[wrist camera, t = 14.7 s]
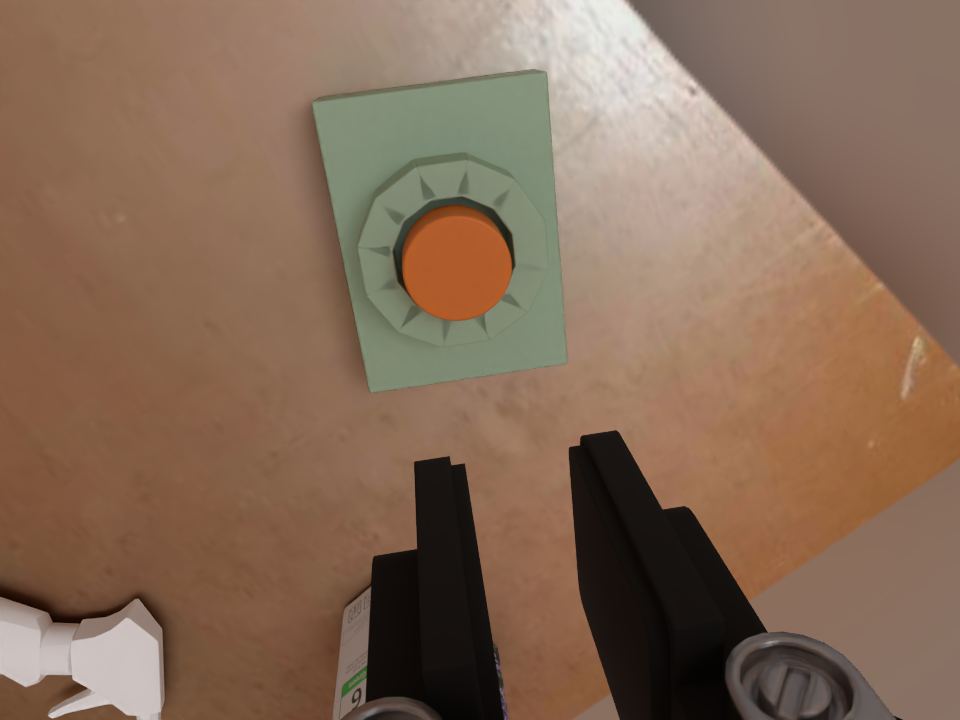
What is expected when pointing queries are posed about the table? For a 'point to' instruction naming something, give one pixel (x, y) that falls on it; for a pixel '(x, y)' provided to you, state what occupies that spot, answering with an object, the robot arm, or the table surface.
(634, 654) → the robot arm
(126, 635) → the spray bottle
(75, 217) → the table surface
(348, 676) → the ink box
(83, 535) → the table surface
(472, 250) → the push button switch
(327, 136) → the green button plate
